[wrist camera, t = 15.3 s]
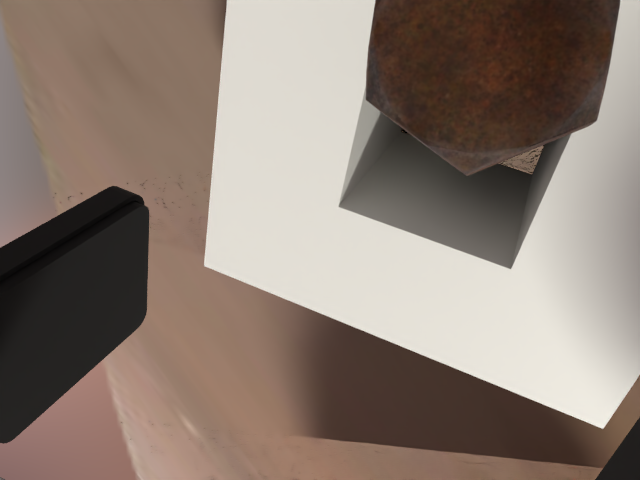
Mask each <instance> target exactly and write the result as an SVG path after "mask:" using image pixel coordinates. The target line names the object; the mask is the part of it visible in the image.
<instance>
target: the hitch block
mask: <svg viewBox="0 0 640 480" xmlns="http://www.w3.org/2000/svg"><path fill="white" fill-rule="evenodd" d="M374 6H375V0H227V7H226V19H225V30H224V42H223V53H222V65H221V76H220V88H219V100H218V111H217V123H216V134H215V146H214V157H213V169H212V181H211V192H210V204H209V215H208V227H207V238H206V250H205V261H204V266H206V267H208V268H211V269H213V270H216V271H218V272H220V273H223V274H225V275H228V276H230V277H233V278H235V279H238V280H240V281H242V282H245V283H247V284H250V285H252V286H255V287H257V288H260V289H262V290H264V291H267V292H269V293H272V294H274V295H277V296H279V297H282V298H284V299H286V300H289V301H291V302H294V303H296V304H299V305H301V306H304V307H306V308H309V309H311V310H313V311H316V312H318V313H321V314H323V315H326V316H328V317H331V318H333V319H335V320H338V321H340V322H343V323H345V324H348V325H350V326H353V327H355V328H357V329H360V330H362V331H365V332H367V333H370V334H372V335H375V336H377V337H379V338H382V339H384V340H387V341H389V342H392V343H394V344H397V345H399V346H401V347H404V348H406V349H409V350H411V351H414V352H416V353H419V354H421V355H424V356H426V357H428V358H431V359H433V360H436V361H438V362H441V363H443V364H446V365H448V366H450V367H453V368H455V369H458V370H460V371H463V372H465V373H468V374H470V375H472V376H475V377H477V378H480V379H482V380H485V381H487V382H490V383H492V384H494V385H497V386H499V387H502V388H504V389H507V390H509V391H512V392H514V393H516V394H519V395H521V396H524V397H526V398H529V399H531V400H534V401H536V402H539V403H541V404H543V405H546V406H548V407H551V408H553V409H556V410H558V411H561V412H563V413H565V414H568V415H570V416H573V417H575V418H578V419H580V420H583V421H585V422H587V423H590V424H592V425H595V426H597V427H600V428H602V429H603V428H604V427H605V425H606V424H607V422H608V421H609V419H610V418H611V416H612V415H613V413H614V412H615V411H616V409H617V408H618V406H619V405H620V403H621V402H622V400H623V399H624V397H625V396H626V394H627V393H628V391H629V390H630V388H631V387H632V385H633V384H634V382H635V381H636V380H637V378H638V377H639V375H640V0H620V8H619V14H618V20H617V26H616V32H615V38H614V44H613V50H612V56H611V62H610V67H609V72H608V76H607V81H606V86H605V91H604V95H603V99H602V103H601V107H600V111H599V115H598V119H597V121H596V122H595V123H593V124H592V125H590V126H588V127H586V128H584V129H581V130H579V131H576V132H574V133H571V134H569V135H566V136H564V137H562V138H559V139H557V140H554V141H552V142H549V143H547V144H545V145H544V148H543V150H542V153H541V155H540V157H539V160H538V162H537V164H536V167H535V169H534V172H533V174H529V173H526V172H523V171H520V170H517V169H514V168H511V167H508V166H504V165H501V164H496V165H493V166H491V167H488V168H486V169H483V170H481V171H479V172H476V173H474V174H471V175H469V176H466V175H465V174H463V173H462V172H461V171H459V170H458V169H456V168H455V167H454V166H452V165H451V164H449V163H448V162H447V161H445V160H444V159H442V158H441V157H440V156H438V155H437V154H436V153H435V152H433V151H432V150H431V149H429V148H428V147H427V146H425V145H424V144H423V143H421V142H420V141H419V140H417V139H416V138H415V137H413V136H412V135H408V134H405V133H402V132H401V130H402V128H401V127H400V126H399V125H397V124H396V123H395V122H393V121H392V120H391V119H389V118H388V117H387V116H385V115H384V114H383V113H382V112H380V111H379V110H378V109H377V108H375V107H374V106H373V105H372V104H370V103H369V102H368V101H366V69H367V57H368V46H369V39H370V33H371V26H372V20H373V13H374Z"/></svg>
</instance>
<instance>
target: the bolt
mask: <svg viewBox="0 0 640 480" xmlns="http://www.w3.org/2000/svg"><path fill="white" fill-rule="evenodd" d="M619 8H620V0H375V6H374V13H373V20H372V26H371V33H370V39H369V46H368V57H367V69H366V101H368V102H369V103H370V104H372V105H373V106H374V107H375V108H377V109H378V110H379V111H380V112H382V113H383V114H384V115H385V116H387V117H388V118H389V119H391V120H392V121H393V122H395V123H396V124H397V125H399V126H400V127H401V128H403V129H404V130H405V131H407V132H408V133H409V134H411V135H412V136H413V137H415V138H416V139H417V140H419V141H420V142H421V143H423V144H424V145H425V146H427V147H428V148H429V149H431V150H432V151H433V152H435V153H436V154H437V155H438V156H440V157H441V158H442V159H444V160H445V161H447V162H448V163H449V164H451V165H452V166H454V167H455V168H456V169H458V170H459V171H461V172H462V173H463V174H465V175H466V176H469V175H471V174H474V173H476V172H479V171H481V170H483V169H486V168H488V167H491V166H493V165H496V164H498V163H501V162H503V161H505V160H508V159H510V158H513V157H515V156H518V155H520V154H523V153H525V152H527V151H530V150H532V149H535V148H537V147H540V146H542V145H545V144H547V143H549V142H552V141H554V140H557V139H559V138H562V137H564V136H566V135H569V134H571V133H574V132H576V131H579V130H581V129H584V128H586V127H588V126H590V125H592V124H593V123H595V122H596V121H597V119H598V115H599V111H600V107H601V103H602V99H603V95H604V91H605V86H606V81H607V76H608V72H609V67H610V62H611V56H612V50H613V44H614V38H615V32H616V26H617V20H618V14H619Z"/></svg>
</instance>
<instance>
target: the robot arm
mask: <svg viewBox="0 0 640 480" xmlns="http://www.w3.org/2000/svg"><path fill="white" fill-rule="evenodd" d="M148 242H149V210H148V208H147V207H146V206H144V201H143V198H142V197H141V196H139V195H137V194H134V193H132V192H129V191H127V190H124V189H122V188H119V187H117V186H112V187H109V188H107V189H105V190H103V191H101V192H100V193H98V194H96V195H94V196H92V197H91V198H89V199H87V200H85V201H83V202H82V203H80V204H78V205H76V206H74V207H73V208H71V209H69V210H67V211H65V212H64V213H62V214H60V215H58V216H57V217H55V218H53V219H51V220H50V221H48V222H46V223H44V224H42V225H40V226H39V227H37V228H35V229H33V230H31V231H30V232H28V233H26V234H25V235H22V236H21V237H19V238H17V239H15V240H14V241H12V242H10V243H8V244H7V245H5V246H3V247H1V248H0V443H8V442H10V441H12V440H13V439H14V438H15V437H16V436H18V435H19V434H20V433H21V432H22V431H23V430H24V429H26V428H27V427H28V426H29V425H30V424H31V423H32V422H33V421H35V420H36V419H37V418H38V417H39V416H40V415H41V414H42V413H44V412H45V411H46V410H47V409H48V408H49V407H50V406H51V405H52V404H54V403H55V402H56V401H57V400H58V399H59V398H60V397H61V396H63V395H64V394H65V393H66V392H67V391H68V390H69V389H70V388H71V387H73V386H74V385H75V384H76V383H77V382H78V381H79V380H80V379H81V378H83V377H84V376H85V375H86V374H87V373H88V372H89V371H90V370H92V369H93V368H94V367H95V366H96V365H97V364H98V363H99V362H101V361H102V360H103V359H104V358H105V357H106V356H107V355H108V354H109V353H111V352H112V351H113V350H114V349H115V348H116V347H117V346H118V345H120V344H121V343H122V342H123V341H124V340H125V339H126V338H127V337H128V336H130V335H131V334H132V333H133V332H134V331H135V330H136V329H137V328H138V327H139V326H140V325H141V324H142V322H143V320H144V318H145V315H146V311H147V279H148ZM0 480H5V479H3V478H1V477H0ZM595 480H640V418H639V419H638V420H637V422H636V423H635V425H634V426H633V428H632V429H631V430H630V432H629V433H628V435H627V436H626V437H625V439H624V440H623V442H622V443H621V444H620V446H619V447H618V449H617V450H616V451H615V453H614V454H613V456H612V457H611V458H610V460H609V461H608V463H607V464H606V465H605V467H604V468H603V470H602V471H601V472H600V474H599V475H598V477H597V478H596V479H595Z"/></svg>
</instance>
